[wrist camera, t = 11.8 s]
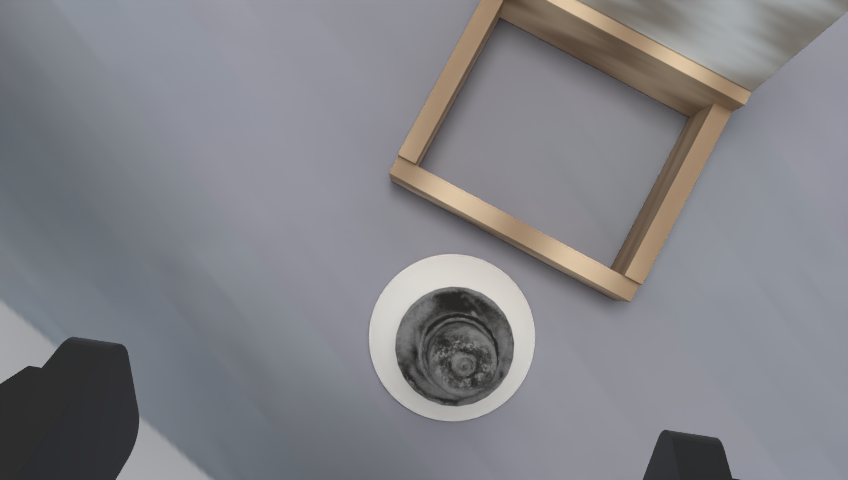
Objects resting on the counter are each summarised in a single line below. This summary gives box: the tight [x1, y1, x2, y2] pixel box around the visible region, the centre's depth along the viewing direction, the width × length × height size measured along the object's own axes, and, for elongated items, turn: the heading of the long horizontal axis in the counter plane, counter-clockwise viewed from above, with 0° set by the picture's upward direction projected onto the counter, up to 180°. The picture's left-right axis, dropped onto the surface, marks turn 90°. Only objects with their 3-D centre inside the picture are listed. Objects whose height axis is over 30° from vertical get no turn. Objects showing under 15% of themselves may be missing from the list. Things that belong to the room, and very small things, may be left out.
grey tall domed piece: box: [395, 287, 514, 406], centre depth 34 cm, size 6×6×12 cm
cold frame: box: [389, 0, 848, 302], centre depth 33 cm, size 14×15×17 cm
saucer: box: [369, 254, 535, 421], centre depth 40 cm, size 9×9×1 cm
